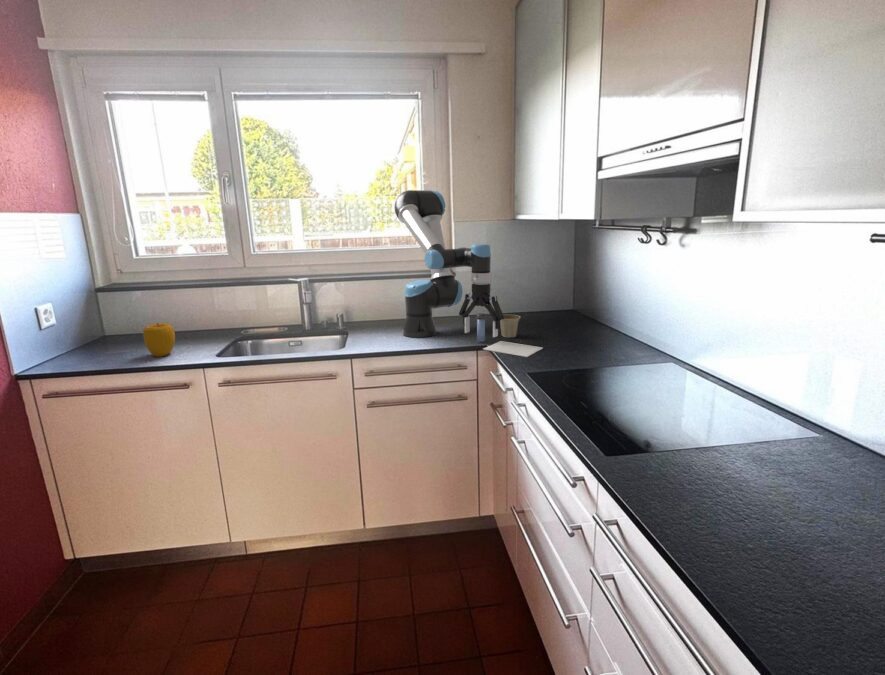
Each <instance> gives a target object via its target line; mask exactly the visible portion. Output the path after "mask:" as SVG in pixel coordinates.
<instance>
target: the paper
mask: <svg viewBox="0 0 885 675" xmlns="http://www.w3.org/2000/svg"><path fill="white" fill-rule="evenodd" d="M543 349H544V347H542V346H541V347H540V346H535V345H529V344H521V343H516V342H515V343H514V342H510V341H503V340H500V341H498V342H495V343H493V344H491V345H489V346H486V347H483V348H482V350H484V351H489V352H495V353H502V354H507V355H514V356H519V357H524V358H528V357H530V356H532V355H534V354H536V353H537V352H539V351H541V350H543Z"/></svg>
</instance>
